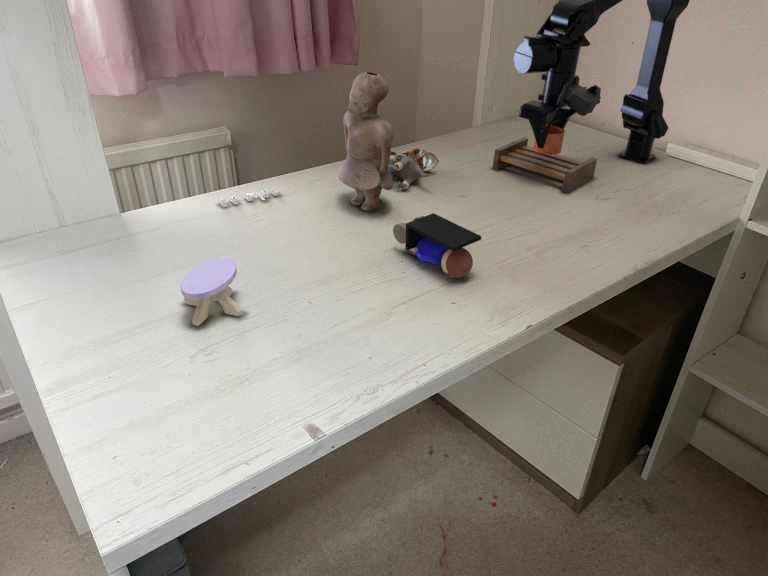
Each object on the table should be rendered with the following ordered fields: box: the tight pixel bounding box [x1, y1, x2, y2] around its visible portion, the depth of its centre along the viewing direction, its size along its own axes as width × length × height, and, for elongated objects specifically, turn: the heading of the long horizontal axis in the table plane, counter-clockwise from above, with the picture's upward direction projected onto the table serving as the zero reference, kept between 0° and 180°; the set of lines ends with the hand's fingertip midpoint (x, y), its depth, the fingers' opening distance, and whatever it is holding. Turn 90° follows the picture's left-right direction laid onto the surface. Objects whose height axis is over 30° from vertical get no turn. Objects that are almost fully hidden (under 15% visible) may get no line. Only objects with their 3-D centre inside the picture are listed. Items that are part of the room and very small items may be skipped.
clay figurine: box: [337, 71, 394, 212], centre depth 112 cm, size 13×10×25 cm
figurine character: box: [392, 212, 482, 279], centre depth 99 cm, size 7×8×15 cm
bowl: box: [533, 126, 566, 155], centre depth 131 cm, size 6×6×4 cm
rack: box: [491, 137, 598, 194], centre depth 134 cm, size 12×18×4 cm, turn 48°
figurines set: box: [219, 188, 279, 208], centre depth 118 cm, size 12×3×3 cm, turn 122°
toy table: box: [180, 256, 243, 327], centre depth 86 cm, size 10×9×6 cm
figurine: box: [388, 147, 440, 190], centre depth 131 cm, size 20×6×17 cm
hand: (547, 144), depth 132 cm, fingers closed on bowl, 6 cm apart
